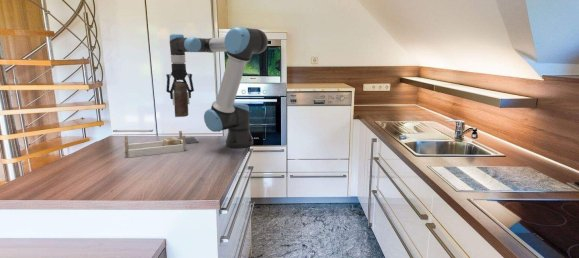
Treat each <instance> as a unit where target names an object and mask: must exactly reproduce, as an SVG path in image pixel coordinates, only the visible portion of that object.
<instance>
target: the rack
mask: <svg viewBox="0 0 579 258" xmlns="http://www.w3.org/2000/svg"><path fill="white" fill-rule="evenodd" d="M178 132H179V135H178V136H179V138H180V139H179V143H180V145H170V146H163V143H164V142H163V140H159V141H158V140H157V141H147V142H137V143H129V139H128V135H124V150H125V157H126V158H134V157H135V158H136V157H145V156H153V155H160V154H161V155H162V154H171V153H179V152H186V151H187V147H186V146H187V144H186V143H185V138H186V135H185V134H184V135H183V132H182V130H179V131H178ZM182 139H183V140H182Z"/></svg>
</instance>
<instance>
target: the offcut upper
mask: <svg viewBox="0 0 579 258" xmlns="http://www.w3.org/2000/svg"><path fill="white" fill-rule="evenodd" d="M162 141H163V142H164V145H166V146H170V145H179V139H177V137H175V136H173V137H166V138H163V140H162Z"/></svg>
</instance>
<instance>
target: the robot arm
mask: <svg viewBox="0 0 579 258" xmlns="http://www.w3.org/2000/svg"><path fill="white" fill-rule="evenodd" d="M184 35H185V34H182V33H171V34H170V35H169V48H170V49H169V50H170V62H171V72H170V73H167V74H165V75H166V89H165V90H166V92H167V93H169V98H170V99H171V100H172V105H173V106H174V105H175V99H174V83H175V82H176V81H182V82H184V83H186V86H187V99H188V105H190V99H191V98H192V92H194V91H195V89H194V84H193V74H192V73H188V72H187V66H186V53H210V54H211V53H219V52H221V53H222V52H226V55H227V56H228V58H227V62H226V65H225V67H224V72H223V77H222V79H221V83H220V87H219V89H218V90H219V91H218V95H217V97H216V100H214V101H213V102H212V103H211V107H210V108H209V109H207V110H206V111H204V113H203V121H204V123H205V124H204V125H205V126H206V127H207V129H208V130H209V131H211V132H214V133H215V132H216V133H217V132H222V131H225V130H228V131H227V134H226V139H225V147H229V148H231V149H232V148H235V149H242V148H249V147H251V146H253V145H254V139H253V137H252V133H251V131H250V128H251V127H250V107H249V105H248V104H246V103H237V102H236V103H235V100H236V98H237V93H238V91H239V87H240V84H241V82H242V78H243V74H244V71H245V68H246V65H247V63H249V62H250V61H251V59H252V57H253V55H259V54H261V53H263V52H265V50H266V49H267V47H268V44H269V40H268V37H267V35H266V33H265V32H264V31H263V30H261V29H257V28H249V27H244V26H235V27H233V28H230V29H229V30H228V31H227V32H226V34H225V36H222V37H213V38H212V37H211V38H202V37H195V36H188V37H185V36H184ZM171 77H172V78H173V80H172V81H173V82H172V85H171V84H170V83H171ZM186 78H188V81H189V84H188V82H187V80H186ZM170 85H171V87H170Z"/></svg>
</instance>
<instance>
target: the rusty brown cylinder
mask: <svg viewBox="0 0 579 258" xmlns="http://www.w3.org/2000/svg"><path fill="white" fill-rule="evenodd" d="M187 92H188V90H187V86H186V83H184V82H183V81H182V80H177V81H176V82H175V83H174V90H173V93H174V99H175V105H173V106H174V117H175V118H184V117H188V116H189V104H188V99H187Z"/></svg>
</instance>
